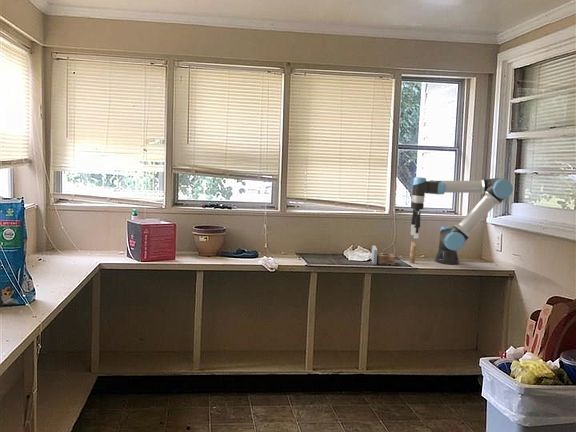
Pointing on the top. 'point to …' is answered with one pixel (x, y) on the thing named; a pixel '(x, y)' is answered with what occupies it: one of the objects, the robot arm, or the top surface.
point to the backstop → (374, 255)
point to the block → (385, 258)
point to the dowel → (412, 252)
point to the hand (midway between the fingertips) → (414, 236)
